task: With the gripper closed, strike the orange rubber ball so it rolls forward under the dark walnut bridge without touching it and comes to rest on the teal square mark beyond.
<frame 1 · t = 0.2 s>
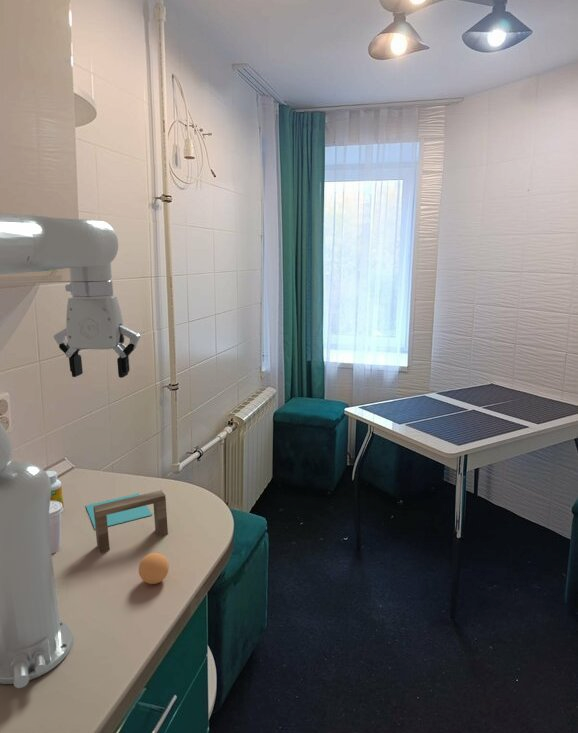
hand: (100, 375, 105), 37 cm above the kitchen counter, tool pointing down, fingers open, 9 cm apart
smoothie: (51, 550, 109), on the kitchen counter
supplement bottle: (52, 512, 126), on the kitchen counter
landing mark: (118, 510, 126), on the kitchen counter
ball: (153, 568, 98), on the kitchen counter
bridge: (133, 539, 113), on the kitchen counter
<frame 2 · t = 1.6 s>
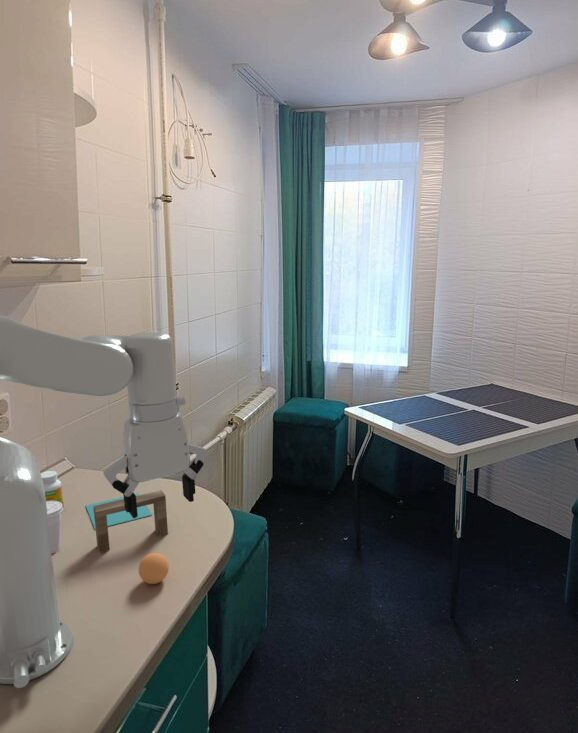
hand: (161, 506, 87), 19 cm above the kitchen counter, tool pointing down, fingers open, 9 cm apart
nothing on the kitchen counter moved.
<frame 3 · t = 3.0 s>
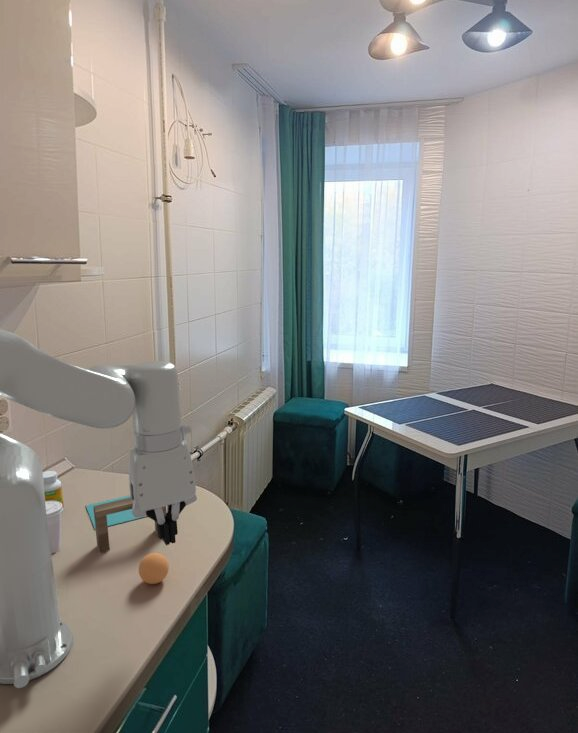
hand: (168, 540, 88), 13 cm above the kitchen counter, tool pointing down, fingers closed
nothing on the kitchen counter moved.
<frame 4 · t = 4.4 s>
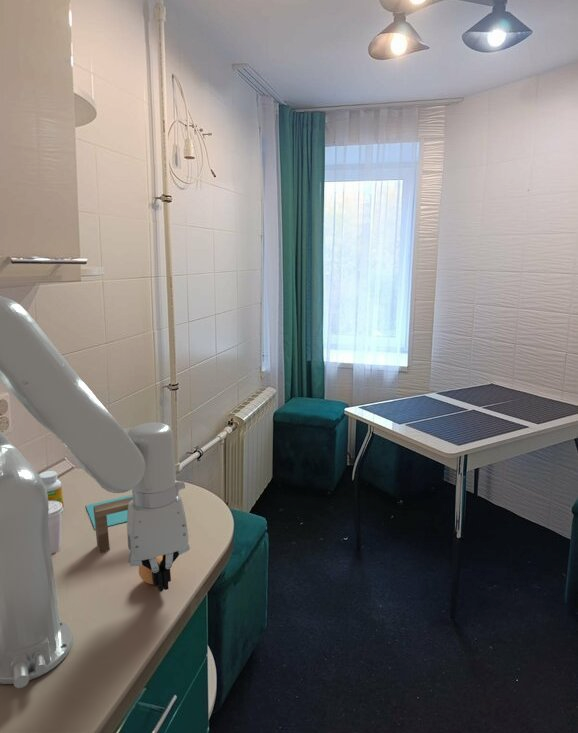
hand: (162, 586, 94), 2 cm above the kitchen counter, tool pointing down, fingers closed
nothing on the kitchen counter moved.
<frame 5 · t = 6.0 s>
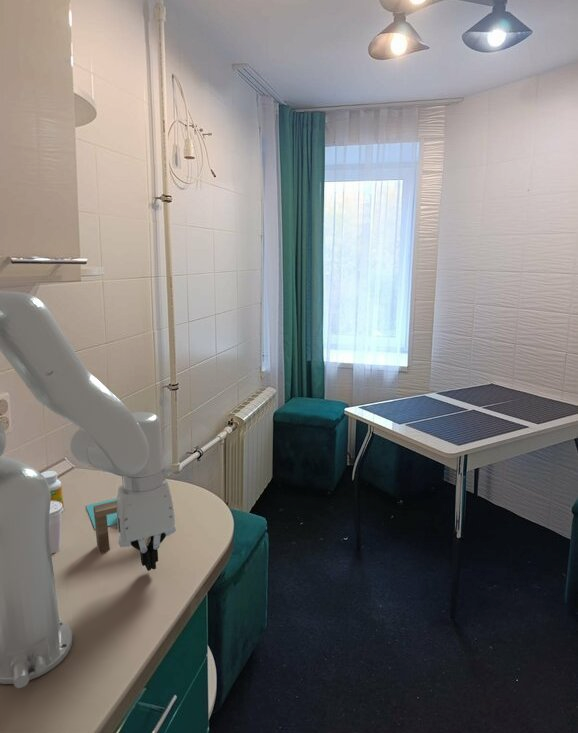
hand: (150, 566, 101), 2 cm above the kitchen counter, tool pointing down, fingers closed
ball: (132, 505, 122), on the kitchen counter
everything else where it was.
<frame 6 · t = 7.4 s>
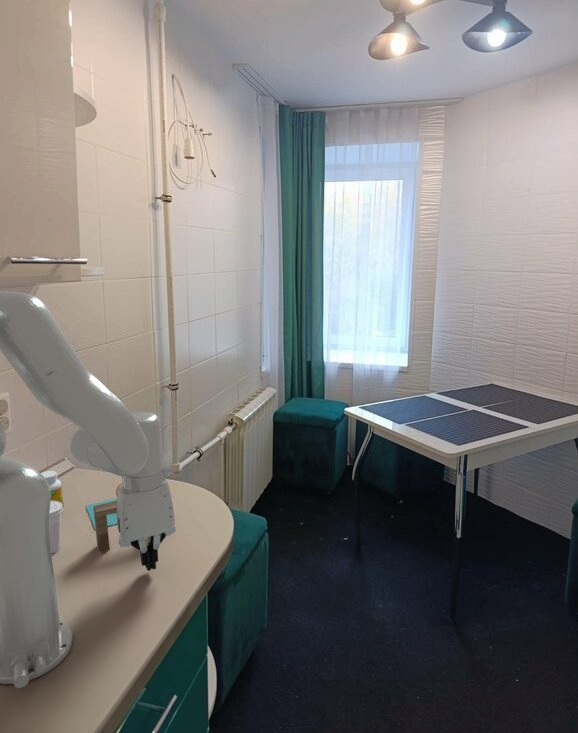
hand: (150, 566, 101), 2 cm above the kitchen counter, tool pointing down, fingers closed
ball: (127, 491, 130), on the kitchen counter
everything else where it was.
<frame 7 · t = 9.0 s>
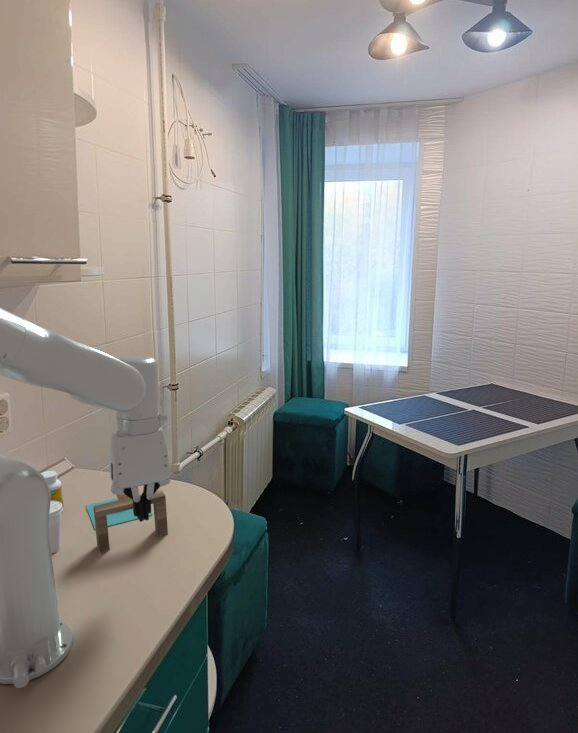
hand: (142, 517, 98), 12 cm above the kitchen counter, tool pointing down, fingers closed
nothing on the kitchen counter moved.
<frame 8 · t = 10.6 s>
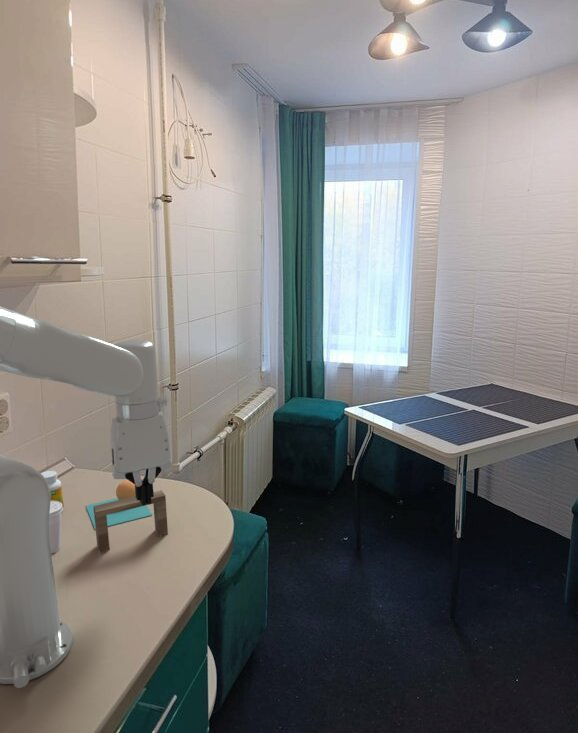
hand: (145, 501, 98), 15 cm above the kitchen counter, tool pointing down, fingers closed
nothing on the kitchen counter moved.
at the end: ball 4.7 cm from the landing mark (horizontally); ball never touched bridge; ball at rest at the end (0.0 cm/s) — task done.
